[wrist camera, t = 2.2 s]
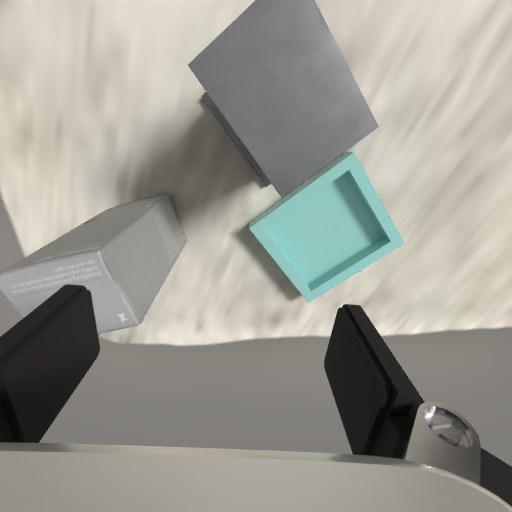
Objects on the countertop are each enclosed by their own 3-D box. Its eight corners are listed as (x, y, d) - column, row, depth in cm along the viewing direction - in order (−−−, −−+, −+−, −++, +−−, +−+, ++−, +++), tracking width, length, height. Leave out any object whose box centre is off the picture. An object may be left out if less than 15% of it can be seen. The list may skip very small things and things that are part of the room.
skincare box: (169, 191, 31) (99, 237, 17) (190, 247, 34) (146, 329, 19) (100, 209, 32) (-25, 268, 17) (127, 263, 35) (38, 353, 20)
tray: (249, 222, 33) (249, 228, 31) (346, 151, 30) (353, 152, 28) (304, 293, 37) (308, 302, 35) (394, 236, 34) (404, 243, 32)
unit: (202, 97, 28) (161, 60, 15) (275, 31, 26) (301, -78, 13) (266, 185, 31) (278, 218, 18) (334, 134, 29) (401, 130, 16)
